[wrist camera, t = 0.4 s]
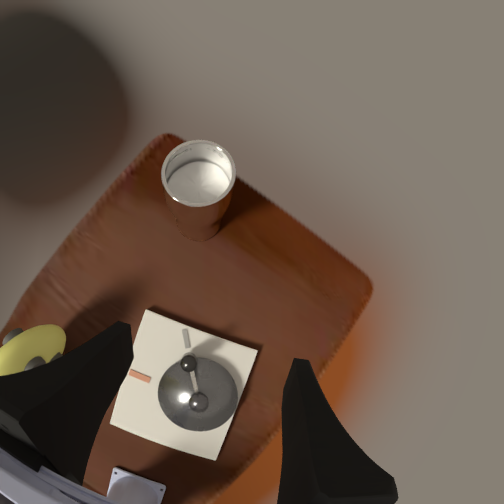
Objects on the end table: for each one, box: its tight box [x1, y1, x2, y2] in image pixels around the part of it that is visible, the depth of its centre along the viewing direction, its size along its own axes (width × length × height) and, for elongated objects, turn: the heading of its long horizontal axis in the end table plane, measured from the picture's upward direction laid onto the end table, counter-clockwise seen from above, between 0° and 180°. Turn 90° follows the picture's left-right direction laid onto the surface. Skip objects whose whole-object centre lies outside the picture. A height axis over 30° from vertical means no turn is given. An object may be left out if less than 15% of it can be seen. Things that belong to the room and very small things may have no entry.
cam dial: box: [158, 352, 238, 432], centre depth 33 cm, size 11×10×4 cm
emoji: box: [0, 324, 66, 376], centre depth 26 cm, size 5×15×15 cm
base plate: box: [110, 309, 258, 461], centre depth 35 cm, size 17×15×1 cm
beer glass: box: [161, 140, 236, 241], centre depth 33 cm, size 7×7×15 cm
